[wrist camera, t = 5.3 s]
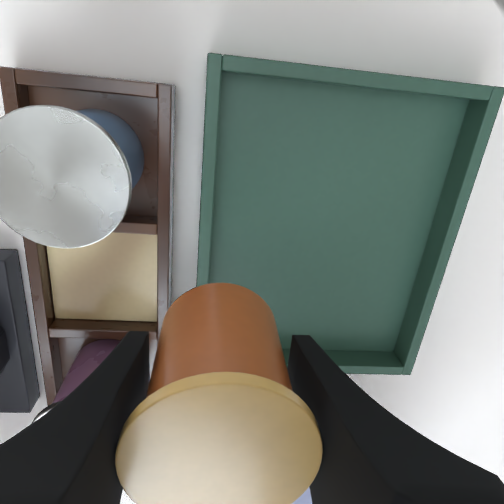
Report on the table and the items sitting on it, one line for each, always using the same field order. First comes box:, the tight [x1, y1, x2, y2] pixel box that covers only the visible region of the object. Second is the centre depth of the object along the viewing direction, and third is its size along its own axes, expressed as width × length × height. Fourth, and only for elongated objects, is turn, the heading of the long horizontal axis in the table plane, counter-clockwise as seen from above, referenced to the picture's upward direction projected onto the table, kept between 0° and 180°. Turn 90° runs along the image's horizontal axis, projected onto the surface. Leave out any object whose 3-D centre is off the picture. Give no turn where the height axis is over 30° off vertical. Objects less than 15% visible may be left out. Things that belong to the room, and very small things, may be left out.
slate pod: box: [0, 105, 144, 248], centre depth 16 cm, size 5×5×5 cm
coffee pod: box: [115, 283, 323, 504], centre depth 12 cm, size 5×5×5 cm
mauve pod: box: [32, 339, 120, 423], centre depth 21 cm, size 5×5×5 cm
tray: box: [196, 53, 504, 375], centre depth 20 cm, size 13×16×2 cm
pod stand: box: [0, 67, 175, 406], centre depth 20 cm, size 7×20×2 cm, turn 174°
